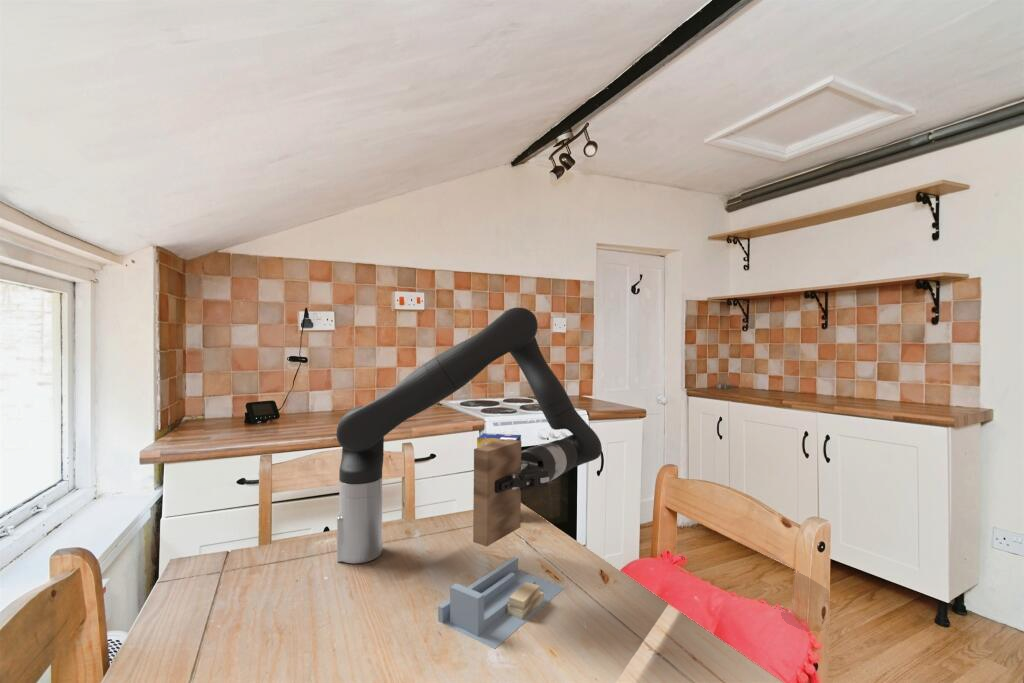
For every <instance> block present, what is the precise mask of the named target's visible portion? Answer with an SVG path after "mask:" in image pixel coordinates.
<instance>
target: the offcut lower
mask: <svg viewBox="0 0 1024 683" xmlns="http://www.w3.org/2000/svg"><path fill="white" fill-rule="evenodd" d="M543 601H544V593H543V592H541V591H540V595H539V596H538V597H537V598H536V599H535V600H534V601H533V602H532V603H531V604H530V605H529V606H528V607H527V608H526V609H525V610H524V611H522V610H519V609H516V608H513V607H511V606H509V604H508V614H510V615H512V616H514V617H517V618H519V619H521V620H522V619H523V618H525V617H526V616H527V615H528V614H529V613H530V612H532V611H533V610H534V609H535V608H536V607H537V606H538V605H540V604H541V603H542V602H543Z"/></svg>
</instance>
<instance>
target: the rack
mask: <svg viewBox="0 0 1024 683" xmlns="http://www.w3.org/2000/svg"><path fill="white" fill-rule="evenodd" d="M525 582H529V583H532V584H535V585H539V586H540V591H541V592H543V593H544V601H543V602H542V603H541V604H540V605H538V606H537V607H536V608H535V609H534V610H533V611H532V612H530V613H529V614H528V615H527V616H526V617H525V618H523V619H522V620H521V619H519V618H517V617H514V616H512V615H510V614H508V604H509V597H510V596H511V595H512V594H513V593H514V592H516V591H517V590H518V589H519V588H520V587H521V586H522V585H523V584H524V583H525ZM565 588H566V586H564V585H561V584H558V583H555V582H554V581H553V582H552V581H550V580H547V579H544V578H542V577H538V576H536V575H532V574H529V573H527V572H524V571H521V570H520V569H519V557H516V556H513V557H511V558H509V559H508V560H506V562H503V563H502V564H501V565H499V566H498V567H496V568H494V569H493V570H492V571H490V572H488V573H486V574H485V575H484V576H482V577H481V578H479V579H477V580H475V581H474V582H472V584H470V585H468V586H467V587H466V586H464V585H462V584H460V583H454V584H452V585H451V586H450V587H449V598H448V599H446V600H445V601H444V602H442V603H441V604H439V605H438V606H437V621H438V622H439V623H441V624H443V625H445V626H447V627H449V628H451V629H453V630H454V631H455V630H456V631H457V632H460V633H462V634H463V635H466V636H467V637H469V638H472V639H474V640H475V641H478V642H480V643H482V644H484V645H486V646H488V647H490V648H492V649H497V648H498V647H500V645H502V644H503V643H504V642H505V641H506V640H507V639H508V638H510V637H511V636H512V635H513V634H514V633H516V631H517V630H519V628H521V626H523V625H524V624H526V622H527V621H529V620H530V619H531V618H532V617H533V616H535V614H537V613H538V612H539V611H540V610H542V608H543V607H545V606H546V605H547V604H548V603H549V602H550V601H552V600H553V599H554V598H555V597H556V596H557V595H558V594H560V593H561V592H562V591H563V590H564V589H565Z"/></svg>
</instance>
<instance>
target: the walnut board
mask: <svg viewBox="0 0 1024 683" xmlns="http://www.w3.org/2000/svg"><path fill="white" fill-rule="evenodd" d="M521 451H522V440H521V441H517V440H511V439H507V440H503V441H500V442H496V443H493V444H489V445H486V446H482V447H479V448H477V447H476V448H473V512H472V513H473V515H472V516H473V517H472V518H473V520H472V521H473V522H472V524H473V525H472V526H473V528H472V529H473V530H472V533H473V534H472V541H473V543H474V544H475V543H476V544H478V545H481V546H484V547H488V546H490V545H492V544H495V543H496V542H497V541H499V540H501V539H503V538H505V537H506V536H509V535H510V534H512V533H513V532H515V531H516V530H519V529H520V528H521V517H522V516H521V515H522V514H521V507H522V506H521V505H522V504H521V502H522V498H521V497H522V490H520V488H517V489H514V490H512V489H508V490H506V491H504V492H502V493H495V481H496V480H498V479H500V478H503V477H505V476H510V474H512V473H514V472H515V470H516V469H517V468H520V467H521Z"/></svg>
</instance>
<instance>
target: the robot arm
mask: <svg viewBox="0 0 1024 683" xmlns="http://www.w3.org/2000/svg"><path fill="white" fill-rule="evenodd" d="M537 333H538V320H537V317H536V315H535V314H534V313H533V312H532V311H531V310H529V308H528V309H527V308H525V307H519V306H518V307H512V308H510V309H507V310H505V311H504V312H503V313H501V315H499V316H498V317H497V318H495V320H493V321H492V322H491V323H490V324H488V325H487V326H486V327H484V328H483V329H482V330H480V331H479V332H477V333H476V334H474V335H472V336H471V337H469V338H467V339H465V340H463V341H461V342H459V343H457V344H455V345H454V346H452V347H449V348H448V349H447V350H445V351H443V352H441V353H439V354H438V355H436V356H435V357H433V358H431V359H430V360H428V361H427V362H425V363H423V364H422V365H420V366H419V367H417V368H416V369H414V371H412V372H411V373H410V374H408V375H407V376H406V377H404V378H403V379H402V380H401V381H400V382H398V384H396V385H395V386H394V387H393V388H392V389H391V390H389V391H387V393H385V394H383V395H382V396H380V397H378V398H377V399H374V400H372V401H371V402H369V403H367V404H365V405H359V406H356V407H353V408H352V409H349V411H347V412H346V413H345V414H344V415H343V416H342V417H341V418H340V420H339V422H338V424H337V427H336V440H337V441H338V443H339V445H340V446H341V449H342V451H341V460H340V466H339V473H338V474H339V476H338V478H339V479H338V480H339V489H338V490H339V493H338V494H339V501H338V502H339V504H338V505H339V509H338V511H339V514H338V516H337V518H336V561H337V562H339V563H340V562H343V563H345V564H363V563H367V562H371V561H373V560H375V559H377V558H378V557H380V556H381V555H382V553H383V467H384V466H383V465H384V449H385V448H384V446H385V444H384V443H385V442H384V440H385V438H384V437H385V436H386V435H387V434H389V433H390V432H392V431H393V430H394V429H396V427H398V426H399V425H401V424H402V423H405V421H407V420H409V419H410V418H412V417H414V416H416V415H418V414H420V413H421V412H423V411H426V410H428V409H430V408H431V407H432V406H434V405H436V404H438V403H440V402H441V401H443V400H445V399H446V398H448V397H449V396H451V395H452V394H454V393H455V392H457V391H458V390H460V389H461V388H463V387H464V386H465V385H467V384H469V382H470V381H472V380H473V379H474V378H475V377H476V376H478V375H479V374H480V373H481V372H482V371H483V370H484V369H485V368H486V367H488V366H489V365H490V364H492V363H493V362H494V361H496V360H497V359H500V358H502V356H505V355H507V354H508V353H510V355H511V356H512V357H513V359H514V361H515V362H516V363H517V365H518V366H519V368H520V370H521V371H522V374H523V375H524V377H525V379H526V380H527V383H528V385H529V386H530V389H531V390H532V394H534V397H535V399H536V401H537V403H538V405H539V407H540V409H541V411H542V414H543V415H544V417H545V419H546V421H547V423H548V425H549V427H550V428H551V429H552V430H555V431H556V430H557V431H558V430H567V431H569V432H570V433H571V434H570V435H568V436H565V437H564V438H560V439H556V440H553V441H549V442H548V443H545V442H544V443H540V444H538V445H534V446H532V447H528V448H525V449H523V450H522V449H521V467H520V468H517V469H516V470H515V472H514V473H512V474H510V476H505V477H503V478H500V479H498V480H496V481H495V493H502V492H504V491H506V490H508V489H512V490H514V489H517V488H520V490H521V492H523V491H529V490H530V491H531V490H535V489H540V488H545V487H549V486H550V482H551V481H554V480H556V479H557V478H558V477H559V476H561V475H563V474H566V473H567V472H569V471H570V470H572V469H573V468H575V467H578V466H582V465H584V464H587V463H589V462H593V461H595V460H597V459H599V457H600V456H601V455H602V448H603V447H602V443H601V440H600V438H599V436H598V435H597V433H596V432H595V431H594V429H592V428H591V427H590V425H589V424H588V423H587V422H586V421H585V420H584V419H583V418H582V417H581V415H580V414H579V413H578V412H577V411H576V409H575V407H574V405H573V402H572V401H571V399H570V397H569V395H568V393H567V391H566V389H565V387H564V386H563V384H562V383H561V381H560V380H559V378H558V377H557V375H555V373H554V372H553V370H552V369H551V367H550V365H549V364H548V363H547V361H546V359H545V358H544V355H543V354H542V350H540V346H539V344H538V341H537V338H536V335H537Z"/></svg>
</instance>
